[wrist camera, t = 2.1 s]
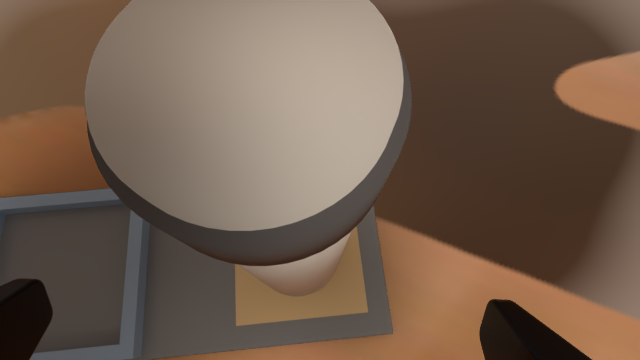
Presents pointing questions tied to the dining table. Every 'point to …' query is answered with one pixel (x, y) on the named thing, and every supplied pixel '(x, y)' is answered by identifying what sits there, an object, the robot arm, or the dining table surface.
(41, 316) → the robot arm
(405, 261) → the dining table surface
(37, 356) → the grey rectangular board
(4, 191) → the dining table surface
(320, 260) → the white grey banded cylinder
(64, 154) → the dining table surface
